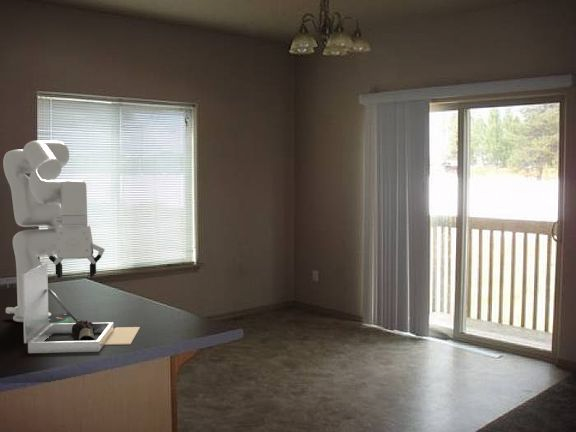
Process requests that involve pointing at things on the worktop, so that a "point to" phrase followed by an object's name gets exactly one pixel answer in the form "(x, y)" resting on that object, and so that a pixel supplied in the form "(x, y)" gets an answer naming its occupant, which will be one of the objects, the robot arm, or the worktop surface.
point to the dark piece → (83, 331)
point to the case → (38, 318)
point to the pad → (122, 336)
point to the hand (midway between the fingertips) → (76, 276)
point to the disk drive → (61, 318)
